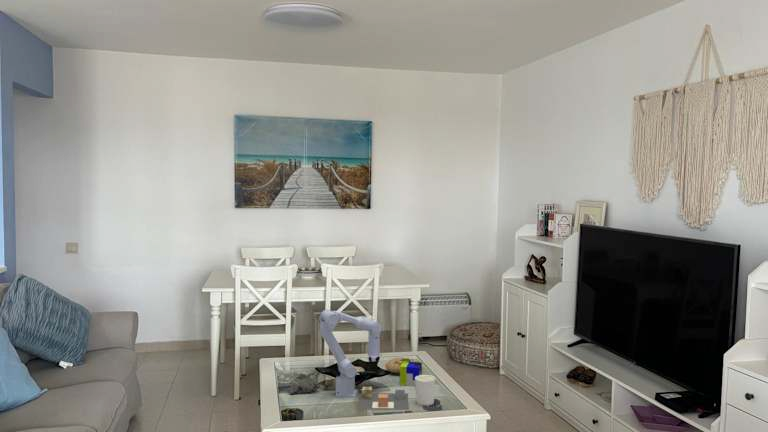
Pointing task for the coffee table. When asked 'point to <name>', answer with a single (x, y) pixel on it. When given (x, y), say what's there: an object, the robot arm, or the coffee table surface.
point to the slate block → (399, 392)
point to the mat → (392, 405)
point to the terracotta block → (382, 400)
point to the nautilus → (396, 364)
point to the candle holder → (425, 389)
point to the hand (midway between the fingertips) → (374, 371)
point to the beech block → (367, 393)
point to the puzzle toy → (410, 372)
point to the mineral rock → (302, 384)
